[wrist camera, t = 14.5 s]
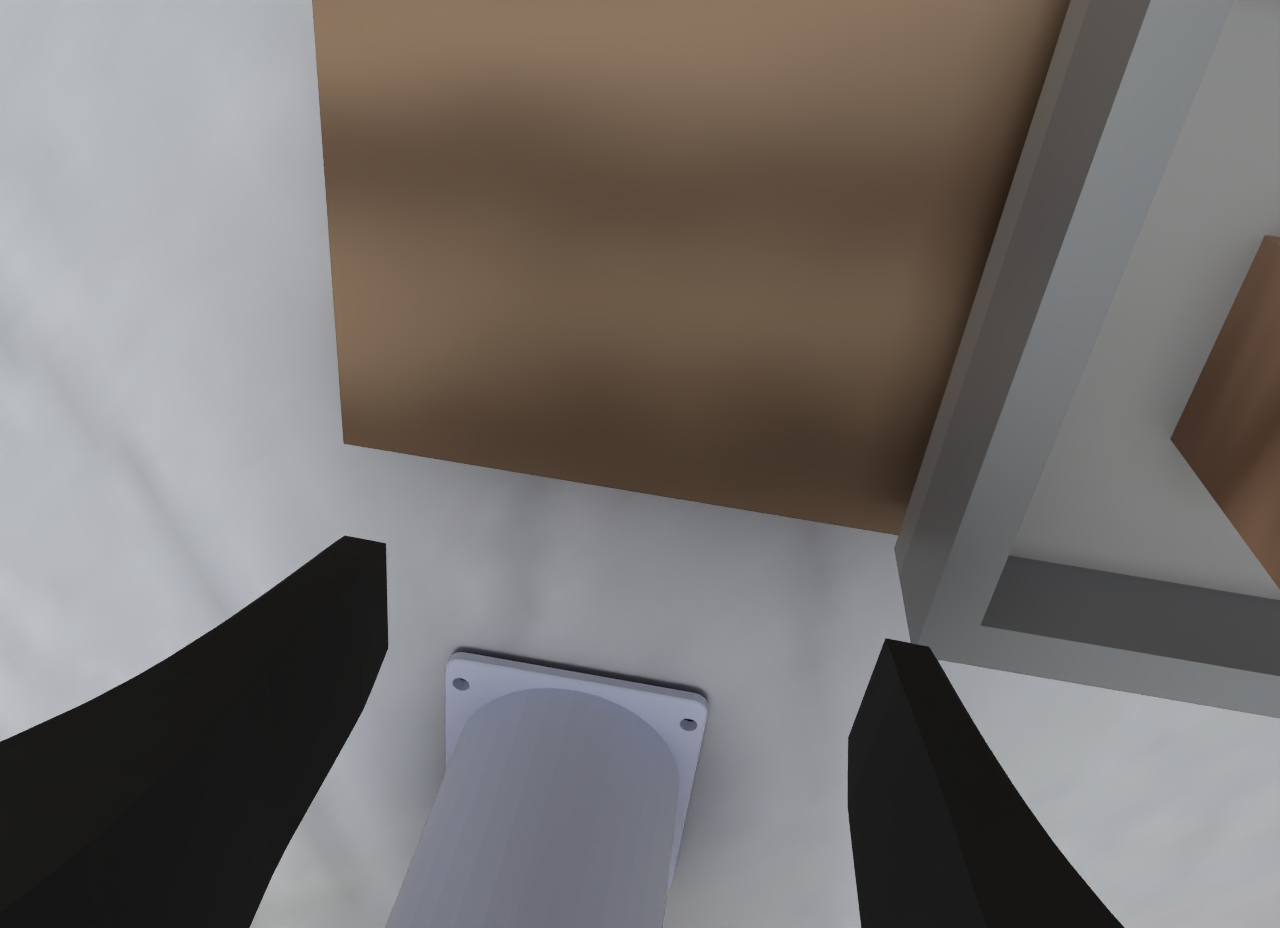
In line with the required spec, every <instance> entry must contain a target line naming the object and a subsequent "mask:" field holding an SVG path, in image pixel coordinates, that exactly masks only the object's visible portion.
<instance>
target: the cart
mask: <svg viewBox="0 0 1280 928" xmlns="http://www.w3.org/2000/svg"><path fill="white" fill-rule="evenodd" d="M1265 235H1269V236H1276V237H1280V0H1071V1H1070V4H1069V7H1068V10H1067V14H1066V17H1065V20H1064V23H1063V26H1062V29H1061V32H1060V35H1059V38H1058V42H1057V45H1056V48H1055V51H1054V54H1053V57H1052V60H1051V63H1050V66H1049V70H1048V73H1047V76H1046V79H1045V82H1044V85H1043V88H1042V91H1041V94H1040V98H1039V101H1038V104H1037V107H1036V110H1035V113H1034V116H1033V119H1032V122H1031V126H1030V129H1029V132H1028V135H1027V138H1026V141H1025V144H1024V147H1023V150H1022V154H1021V157H1020V160H1019V163H1018V166H1017V169H1016V172H1015V175H1014V178H1013V182H1012V185H1011V188H1010V191H1009V194H1008V197H1007V200H1006V203H1005V206H1004V210H1003V213H1002V216H1001V219H1000V222H999V225H998V228H997V231H996V234H995V238H994V241H993V244H992V247H991V250H990V253H989V256H988V259H987V262H986V266H985V269H984V272H983V275H982V278H981V281H980V284H979V287H978V290H977V294H976V297H975V300H974V303H973V306H972V309H971V312H970V315H969V318H968V322H967V325H966V328H965V331H964V334H963V337H962V340H961V343H960V346H959V350H958V353H957V356H956V359H955V362H954V365H953V368H952V371H951V374H950V378H949V381H948V384H947V387H946V390H945V393H944V396H943V399H942V402H941V406H940V409H939V412H938V415H937V418H936V421H935V424H934V427H933V430H932V434H931V437H930V440H929V443H928V446H927V449H926V452H925V455H924V458H923V462H922V465H921V468H920V471H919V474H918V477H917V480H916V483H915V486H914V490H913V493H912V496H911V499H910V502H909V505H908V508H907V511H906V514H905V518H904V521H903V524H902V527H901V530H900V533H899V536H898V539H897V542H896V546H895V555H896V560H897V566H898V572H899V578H900V583H901V589H902V595H903V600H904V606H905V612H906V617H907V623H908V629H909V635H910V640H911V643H912V644H918V645H923V646H928V647H930V649H931V650H932V652H933V653H934V655H935V657H936V658H937V659H938V660H944V661H949V662H955V663H961V664H967V665H973V666H979V667H984V668H990V669H996V670H1002V671H1008V672H1013V673H1019V674H1025V675H1031V676H1037V677H1042V678H1048V679H1054V680H1060V681H1066V682H1072V683H1077V684H1083V685H1089V686H1095V687H1101V688H1106V689H1112V690H1118V691H1124V692H1130V693H1136V694H1141V695H1147V696H1153V697H1159V698H1165V699H1170V700H1176V701H1182V702H1188V703H1194V704H1199V705H1205V706H1211V707H1217V708H1223V709H1229V710H1234V711H1240V712H1246V713H1252V714H1258V715H1263V716H1269V717H1275V718H1280V590H1279V588H1278V587H1277V585H1276V584H1275V583H1274V581H1273V580H1272V579H1271V577H1270V576H1269V574H1268V573H1267V572H1266V570H1265V569H1264V568H1263V566H1262V565H1261V563H1260V562H1259V561H1258V559H1257V558H1256V557H1255V555H1254V554H1253V552H1252V551H1251V550H1250V548H1249V547H1248V546H1247V544H1246V543H1245V541H1244V540H1243V539H1242V537H1241V536H1240V535H1239V533H1238V532H1237V530H1236V529H1235V528H1234V526H1233V525H1232V523H1231V522H1230V521H1229V519H1228V518H1227V517H1226V515H1225V514H1224V512H1223V511H1222V510H1221V508H1220V507H1219V506H1218V504H1217V503H1216V501H1215V500H1214V499H1213V497H1212V496H1211V495H1210V493H1209V492H1208V490H1207V489H1206V488H1205V486H1204V485H1203V484H1202V482H1201V481H1200V479H1199V478H1198V477H1197V475H1196V474H1195V473H1194V471H1193V470H1192V468H1191V467H1190V466H1189V464H1188V463H1187V462H1186V460H1185V459H1184V457H1183V456H1182V455H1181V453H1180V452H1179V451H1178V449H1177V448H1176V446H1175V445H1174V444H1173V442H1172V441H1171V440H1170V438H1171V436H1172V434H1173V432H1174V430H1175V427H1176V425H1177V423H1178V421H1179V419H1180V417H1181V415H1182V412H1183V410H1184V408H1185V406H1186V404H1187V402H1188V399H1189V397H1190V395H1191V393H1192V391H1193V389H1194V387H1195V384H1196V382H1197V380H1198V378H1199V376H1200V374H1201V372H1202V369H1203V367H1204V365H1205V363H1206V361H1207V359H1208V356H1209V354H1210V352H1211V350H1212V348H1213V346H1214V344H1215V341H1216V339H1217V337H1218V335H1219V333H1220V331H1221V328H1222V326H1223V324H1224V322H1225V320H1226V318H1227V316H1228V313H1229V311H1230V309H1231V307H1232V305H1233V303H1234V301H1235V298H1236V296H1237V294H1238V292H1239V290H1240V288H1241V285H1242V283H1243V281H1244V279H1245V277H1246V275H1247V273H1248V270H1249V268H1250V266H1251V264H1252V262H1253V260H1254V257H1255V255H1256V253H1257V251H1258V249H1259V247H1260V245H1261V242H1262V240H1263V238H1264V236H1265Z"/></svg>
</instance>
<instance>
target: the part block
mask: <svg viewBox="0 0 1280 928" xmlns="http://www.w3.org/2000/svg"><path fill="white" fill-rule="evenodd" d="M1170 440H1171V441H1172V442H1173V444H1174V445H1175V446H1176V448H1177V449H1178V451H1179V452H1180V453H1181V455H1182V456H1183V457H1184V459H1185V460H1186V462H1187V463H1188V464H1189V466H1190V467H1191V468H1192V470H1193V471H1194V473H1195V474H1196V475H1197V477H1198V478H1199V479H1200V481H1201V482H1202V484H1203V485H1204V486H1205V488H1206V489H1207V490H1208V492H1209V493H1210V495H1211V496H1212V497H1213V499H1214V500H1215V501H1216V503H1217V504H1218V506H1219V507H1220V508H1221V510H1222V511H1223V512H1224V514H1225V515H1226V517H1227V518H1228V519H1229V521H1230V522H1231V523H1232V525H1233V526H1234V528H1235V529H1236V530H1237V532H1238V533H1239V535H1240V536H1241V537H1242V539H1243V540H1244V541H1245V543H1246V544H1247V546H1248V547H1249V548H1250V550H1251V551H1252V552H1253V554H1254V555H1255V557H1256V558H1257V559H1258V561H1259V562H1260V563H1261V565H1262V566H1263V568H1264V569H1265V570H1266V572H1267V573H1268V574H1269V576H1270V577H1271V579H1272V580H1273V581H1274V583H1275V584H1276V585H1277V587H1278V588H1279V590H1280V237H1276V236H1269V235H1265V236H1264V238H1263V240H1262V242H1261V245H1260V247H1259V249H1258V251H1257V253H1256V255H1255V257H1254V260H1253V262H1252V264H1251V266H1250V268H1249V270H1248V273H1247V275H1246V277H1245V279H1244V281H1243V283H1242V285H1241V288H1240V290H1239V292H1238V294H1237V296H1236V298H1235V301H1234V303H1233V305H1232V307H1231V309H1230V311H1229V313H1228V316H1227V318H1226V320H1225V322H1224V324H1223V326H1222V328H1221V331H1220V333H1219V335H1218V337H1217V339H1216V341H1215V344H1214V346H1213V348H1212V350H1211V352H1210V354H1209V356H1208V359H1207V361H1206V363H1205V365H1204V367H1203V369H1202V372H1201V374H1200V376H1199V378H1198V380H1197V382H1196V384H1195V387H1194V389H1193V391H1192V393H1191V395H1190V397H1189V399H1188V402H1187V404H1186V406H1185V408H1184V410H1183V412H1182V415H1181V417H1180V419H1179V421H1178V423H1177V425H1176V427H1175V430H1174V432H1173V434H1172V436H1171V438H1170Z"/></svg>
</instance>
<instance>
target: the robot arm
mask: <svg viewBox="0 0 1280 928" xmlns="http://www.w3.org/2000/svg"><path fill="white" fill-rule="evenodd" d="M387 650H388V616H387V572H386V543H381V542H376V541H370V540H365V539H360V538H355V537H349V536H344V537H342V538H341V539H339V540H338V541H336V542H335V543H333V544H332V545H331V546H329V547H328V548H326V549H325V550H324V551H322V552H321V553H320V554H318V555H317V556H315V557H314V558H313V559H311V560H310V561H309V562H307V563H306V564H305V565H303V566H302V567H301V568H299V569H298V570H297V571H295V572H294V573H292V574H291V575H290V576H288V577H287V578H286V579H284V580H283V581H282V582H280V583H279V584H277V585H276V586H275V587H273V588H272V589H271V590H269V591H268V592H266V593H265V594H263V595H262V596H261V597H259V598H258V599H256V600H255V601H253V602H252V603H251V604H249V605H248V606H246V607H245V608H243V609H242V610H241V611H239V612H238V613H236V614H235V615H233V616H232V617H231V618H229V619H228V620H226V621H225V622H223V623H222V624H220V625H219V626H217V627H216V628H214V629H213V630H211V631H209V632H208V633H206V634H205V635H203V636H202V637H200V638H198V639H197V640H195V641H194V642H192V643H190V644H189V645H187V646H186V647H184V648H183V649H181V650H179V651H178V652H176V653H175V654H173V655H172V656H170V657H168V658H167V659H165V660H163V661H162V662H160V663H158V664H157V665H155V666H153V667H151V668H150V669H148V670H146V671H145V672H143V673H141V674H139V675H138V676H136V677H134V678H132V679H130V680H128V681H126V682H125V683H123V684H121V685H119V686H117V687H115V688H113V689H111V690H109V691H108V692H106V693H104V694H102V695H100V696H98V697H96V698H94V699H92V700H90V701H88V702H86V703H84V704H82V705H80V706H78V707H76V708H74V709H72V710H69V711H67V712H65V713H63V714H61V715H58V716H56V717H54V718H52V719H50V720H47V721H45V722H43V723H41V724H39V725H37V726H34V727H32V728H30V729H28V730H26V731H23V732H21V733H19V734H17V735H15V736H12V737H10V738H8V739H6V740H3V741H1V742H0V928H249V927H250V925H251V923H252V921H253V918H254V916H255V914H256V911H257V909H258V907H259V905H260V902H261V900H262V898H263V896H264V893H265V891H266V889H267V886H268V884H269V882H270V880H271V877H272V875H273V873H274V871H275V869H276V867H277V865H278V863H279V861H280V859H281V857H282V855H283V853H284V851H285V849H286V848H287V846H288V844H289V842H290V840H291V838H292V837H293V835H294V833H295V831H296V829H297V828H298V826H299V824H300V822H301V821H302V819H303V817H304V815H305V813H306V812H307V810H308V808H309V806H310V805H311V803H312V801H313V799H314V797H315V796H316V794H317V792H318V790H319V789H320V787H321V785H322V783H323V781H324V780H325V778H326V776H327V774H328V773H329V771H330V769H331V767H332V765H333V764H334V762H335V760H336V758H337V757H338V755H339V753H340V751H341V749H342V748H343V746H344V744H345V742H346V740H347V738H348V737H349V735H350V733H351V731H352V729H353V728H354V726H355V724H356V722H357V720H358V718H359V717H360V715H361V713H362V711H363V709H364V707H365V704H366V702H367V699H368V697H369V695H370V692H371V690H372V688H373V685H374V683H375V680H376V678H377V675H378V673H379V670H380V667H381V665H382V662H383V660H384V657H385V655H386V652H387ZM459 678H462V679H465V680H466V681H462V680H460V679H459ZM445 691H446V772H445V775H444V777H443V780H442V782H441V785H440V788H439V790H438V793H437V795H436V798H435V801H434V803H433V806H432V808H431V811H430V813H429V816H428V819H427V821H426V824H425V826H424V829H423V832H422V834H421V837H420V839H419V842H418V845H417V847H416V850H415V852H414V855H413V857H412V860H411V863H410V865H409V868H408V870H407V873H406V876H405V878H404V881H403V883H402V886H401V888H400V891H399V894H398V896H397V899H396V901H395V904H394V907H393V909H392V912H391V914H390V917H389V919H388V922H387V925H386V927H385V928H663V923H664V914H665V905H666V897H667V891H668V890H669V889H670V888H671V885H672V880H673V876H674V871H675V866H676V861H677V857H678V852H679V847H680V843H681V838H682V833H683V828H684V824H685V819H686V814H687V809H688V805H689V800H690V795H691V791H692V786H693V781H694V776H695V772H696V767H697V762H698V758H699V753H700V748H701V743H702V739H703V734H704V729H705V725H706V720H707V715H708V702H707V701H706V699H705V698H704V697H702V696H701V695H699V694H696V693H692V692H687V691H681V690H675V689H670V688H664V687H658V686H653V685H647V684H641V683H635V682H630V681H624V680H618V679H613V678H607V677H601V676H596V675H590V674H584V673H579V672H573V671H567V670H562V669H556V668H550V667H545V666H539V665H533V664H528V663H522V662H516V661H511V660H505V659H499V658H494V657H488V656H482V655H477V654H471V653H465V652H457V653H454V654H453V655H451V656H450V658H449V660H448V662H447V665H446V668H445ZM684 719H692V720H694V721H686V720H684ZM848 813H849V823H850V832H851V841H852V850H853V859H854V868H855V876H856V885H857V893H858V902H859V911H860V919H861V928H1124V927H1123V926H1122V924H1121V923H1120V922H1119V921H1118V920H1117V919H1116V918H1115V917H1114V915H1113V914H1112V913H1111V912H1110V911H1109V910H1108V909H1107V907H1106V906H1105V905H1104V904H1103V903H1102V901H1101V900H1100V899H1099V898H1098V897H1097V895H1096V894H1095V893H1094V892H1093V891H1092V889H1091V888H1090V887H1089V886H1088V885H1087V883H1086V882H1085V881H1084V880H1083V879H1082V877H1081V876H1080V875H1079V874H1078V872H1077V871H1076V870H1075V869H1074V868H1073V866H1072V865H1071V864H1070V863H1069V861H1068V860H1067V859H1066V858H1065V856H1064V855H1063V854H1062V852H1061V851H1060V850H1059V849H1058V847H1057V846H1056V845H1055V843H1054V842H1053V841H1052V839H1051V838H1050V837H1049V835H1048V834H1047V832H1046V831H1045V830H1044V828H1043V827H1042V825H1041V824H1040V823H1039V821H1038V820H1037V819H1036V817H1035V816H1034V814H1033V813H1032V812H1031V810H1030V809H1029V807H1028V806H1027V804H1026V803H1025V801H1024V800H1023V799H1022V797H1021V796H1020V794H1019V793H1018V791H1017V790H1016V788H1015V787H1014V785H1013V784H1012V782H1011V781H1010V779H1009V778H1008V776H1007V774H1006V773H1005V771H1004V770H1003V768H1002V767H1001V765H1000V764H999V762H998V760H997V759H996V757H995V756H994V754H993V753H992V751H991V750H990V748H989V746H988V745H987V743H986V742H985V740H984V738H983V737H982V735H981V734H980V732H979V730H978V729H977V727H976V725H975V724H974V722H973V720H972V719H971V717H970V715H969V714H968V712H967V710H966V709H965V707H964V705H963V703H962V702H961V700H960V698H959V697H958V695H957V693H956V691H955V690H954V688H953V686H952V684H951V683H950V681H949V679H948V678H947V676H946V674H945V672H944V671H943V669H942V667H941V665H940V664H939V662H938V660H937V658H936V657H935V655H934V653H933V652H932V650H931V649H930V647H928V646H923V645H918V644H912V643H907V642H902V641H897V640H891V639H885V641H884V644H883V647H882V649H881V652H880V655H879V657H878V660H877V663H876V665H875V668H874V671H873V673H872V676H871V679H870V681H869V684H868V687H867V689H866V692H865V695H864V697H863V700H862V703H861V705H860V708H859V711H858V713H857V716H856V719H855V721H854V724H853V727H852V729H851V732H850V735H849V737H848Z"/></svg>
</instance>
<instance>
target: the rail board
mask: <svg viewBox="0 0 1280 928" xmlns="http://www.w3.org/2000/svg"><path fill="white" fill-rule="evenodd" d="M1070 1H1071V0H312V4H313V19H314V33H315V47H316V61H317V75H318V89H319V103H320V117H321V131H322V145H323V159H324V173H325V187H326V202H327V216H328V230H329V244H330V258H331V272H332V286H333V300H334V314H335V328H336V342H337V356H338V370H339V384H340V399H341V413H342V427H343V441H344V444H349V445H355V446H361V447H368V448H374V449H380V450H386V451H392V452H398V453H404V454H410V455H416V456H422V457H428V458H434V459H440V460H446V461H452V462H458V463H464V464H470V465H477V466H483V467H489V468H495V469H501V470H507V471H513V472H519V473H525V474H531V475H537V476H543V477H549V478H555V479H561V480H567V481H573V482H579V483H585V484H592V485H598V486H604V487H610V488H616V489H622V490H628V491H634V492H640V493H646V494H652V495H658V496H664V497H670V498H676V499H682V500H688V501H694V502H700V503H707V504H713V505H719V506H725V507H731V508H737V509H743V510H749V511H755V512H761V513H767V514H773V515H779V516H785V517H791V518H797V519H803V520H809V521H815V522H822V523H828V524H834V525H840V526H846V527H852V528H858V529H864V530H870V531H876V532H882V533H888V534H894V535H899V533H900V530H901V527H902V524H903V521H904V518H905V514H906V511H907V508H908V505H909V502H910V499H911V496H912V493H913V490H914V486H915V483H916V480H917V477H918V474H919V471H920V468H921V465H922V462H923V458H924V455H925V452H926V449H927V446H928V443H929V440H930V437H931V434H932V430H933V427H934V424H935V421H936V418H937V415H938V412H939V409H940V406H941V402H942V399H943V396H944V393H945V390H946V387H947V384H948V381H949V378H950V374H951V371H952V368H953V365H954V362H955V359H956V356H957V353H958V350H959V346H960V343H961V340H962V337H963V334H964V331H965V328H966V325H967V322H968V318H969V315H970V312H971V309H972V306H973V303H974V300H975V297H976V294H977V290H978V287H979V284H980V281H981V278H982V275H983V272H984V269H985V266H986V262H987V259H988V256H989V253H990V250H991V247H992V244H993V241H994V238H995V234H996V231H997V228H998V225H999V222H1000V219H1001V216H1002V213H1003V210H1004V206H1005V203H1006V200H1007V197H1008V194H1009V191H1010V188H1011V185H1012V182H1013V178H1014V175H1015V172H1016V169H1017V166H1018V163H1019V160H1020V157H1021V154H1022V150H1023V147H1024V144H1025V141H1026V138H1027V135H1028V132H1029V129H1030V126H1031V122H1032V119H1033V116H1034V113H1035V110H1036V107H1037V104H1038V101H1039V98H1040V94H1041V91H1042V88H1043V85H1044V82H1045V79H1046V76H1047V73H1048V70H1049V66H1050V63H1051V60H1052V57H1053V54H1054V51H1055V48H1056V45H1057V42H1058V38H1059V35H1060V32H1061V29H1062V26H1063V23H1064V20H1065V17H1066V14H1067V10H1068V7H1069V4H1070Z"/></svg>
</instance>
